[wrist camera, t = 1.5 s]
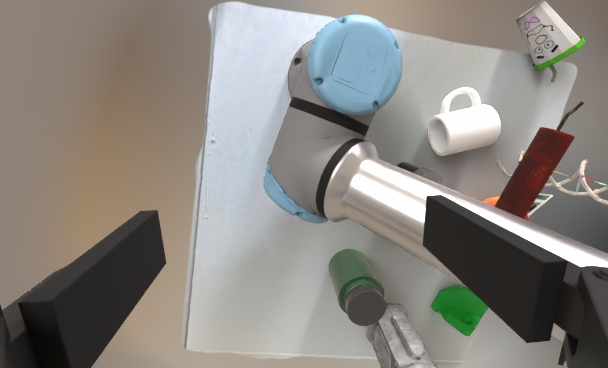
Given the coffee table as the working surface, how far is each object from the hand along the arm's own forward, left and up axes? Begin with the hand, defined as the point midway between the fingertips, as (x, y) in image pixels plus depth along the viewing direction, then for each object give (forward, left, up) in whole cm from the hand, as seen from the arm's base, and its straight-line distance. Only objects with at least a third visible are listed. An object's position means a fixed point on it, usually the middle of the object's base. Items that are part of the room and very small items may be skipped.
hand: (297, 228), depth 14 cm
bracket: (+51, +28, -44) cm, 73 cm away
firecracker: (+33, +31, -36) cm, 57 cm away
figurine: (+50, +10, -45) cm, 68 cm away
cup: (-8, +51, -43) cm, 67 cm away
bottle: (+32, +5, -45) cm, 56 cm away
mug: (+7, +34, -45) cm, 57 cm away
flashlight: (+14, +22, -45) cm, 52 cm away
